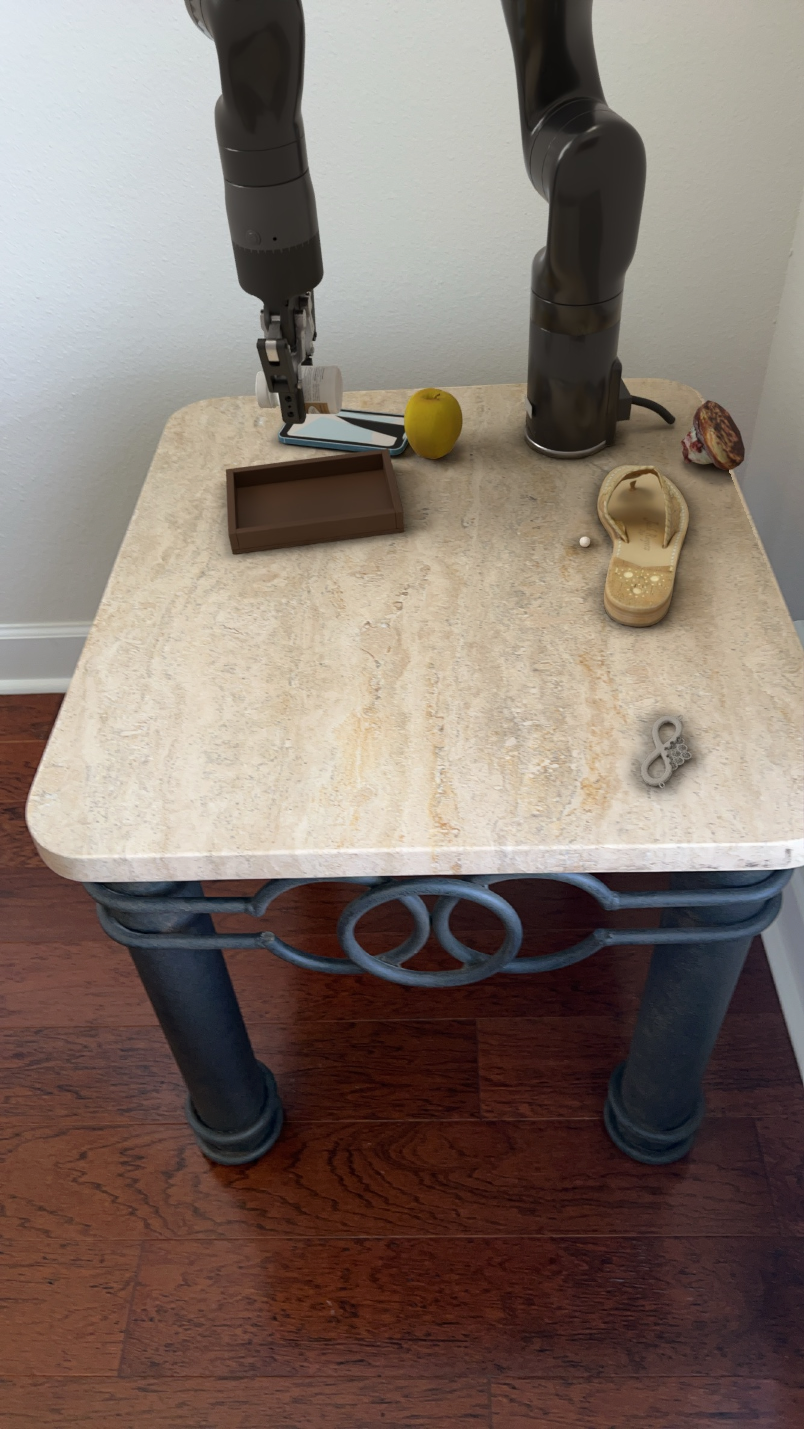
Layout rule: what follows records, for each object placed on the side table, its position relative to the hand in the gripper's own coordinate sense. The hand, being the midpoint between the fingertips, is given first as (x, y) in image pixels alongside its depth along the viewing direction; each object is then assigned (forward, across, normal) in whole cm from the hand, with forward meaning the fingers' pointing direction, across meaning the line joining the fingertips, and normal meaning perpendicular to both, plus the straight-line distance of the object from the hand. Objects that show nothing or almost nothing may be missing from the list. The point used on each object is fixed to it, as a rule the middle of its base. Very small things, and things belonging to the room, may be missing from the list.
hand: (299, 406), depth 101 cm
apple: (+12, +11, -12) cm, 20 cm away
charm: (+12, -31, -33) cm, 47 cm away
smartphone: (+12, +14, -1) cm, 19 cm away
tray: (+12, 0, 0) cm, 12 cm away
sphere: (+11, -8, -29) cm, 32 cm away
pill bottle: (-2, 0, -4) cm, 5 cm away
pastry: (+8, +10, -43) cm, 44 cm away
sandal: (+12, -4, -33) cm, 36 cm away
